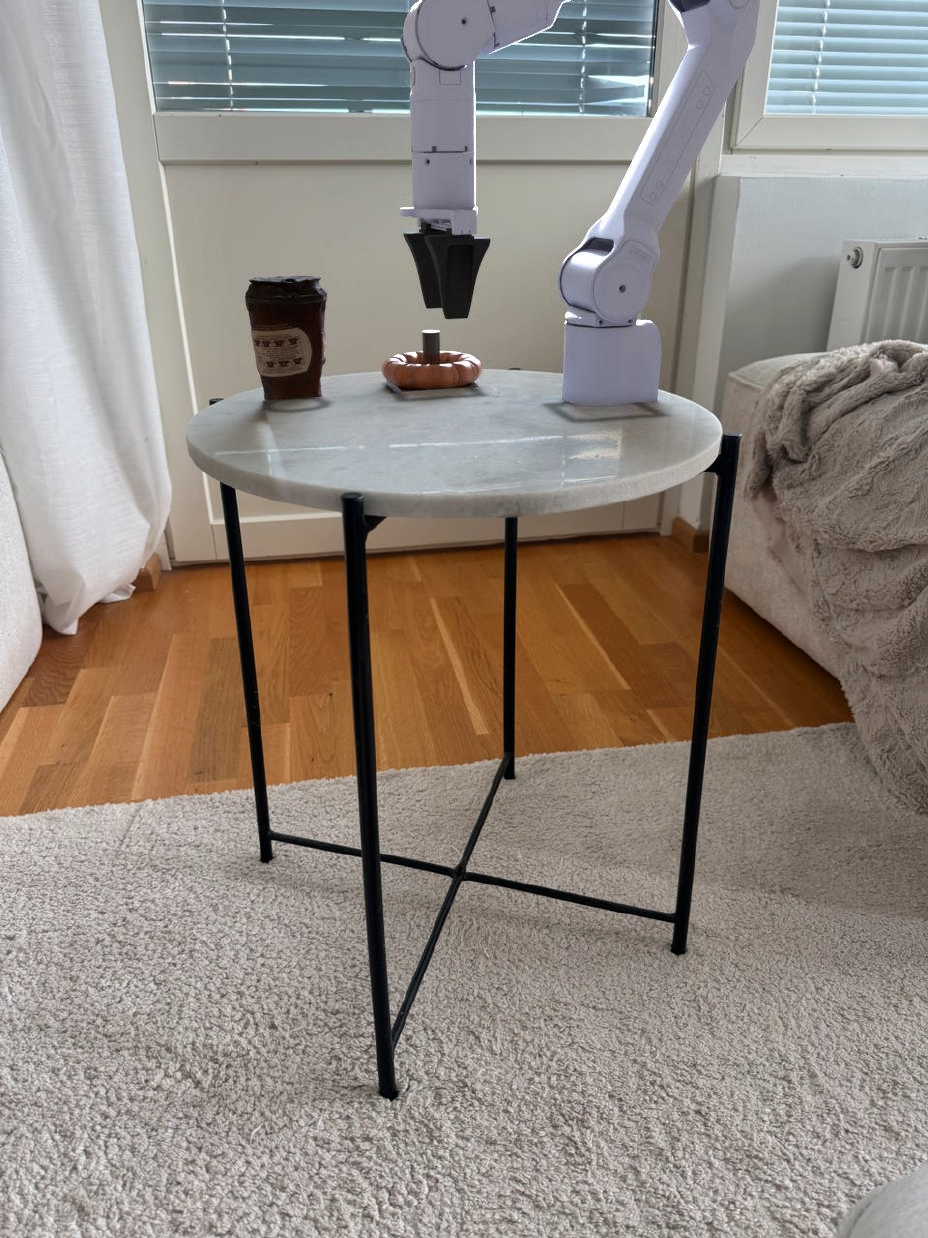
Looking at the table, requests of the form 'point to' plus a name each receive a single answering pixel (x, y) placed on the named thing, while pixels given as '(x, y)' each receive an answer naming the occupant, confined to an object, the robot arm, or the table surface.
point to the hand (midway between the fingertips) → (446, 312)
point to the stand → (429, 358)
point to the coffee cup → (288, 334)
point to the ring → (431, 370)
